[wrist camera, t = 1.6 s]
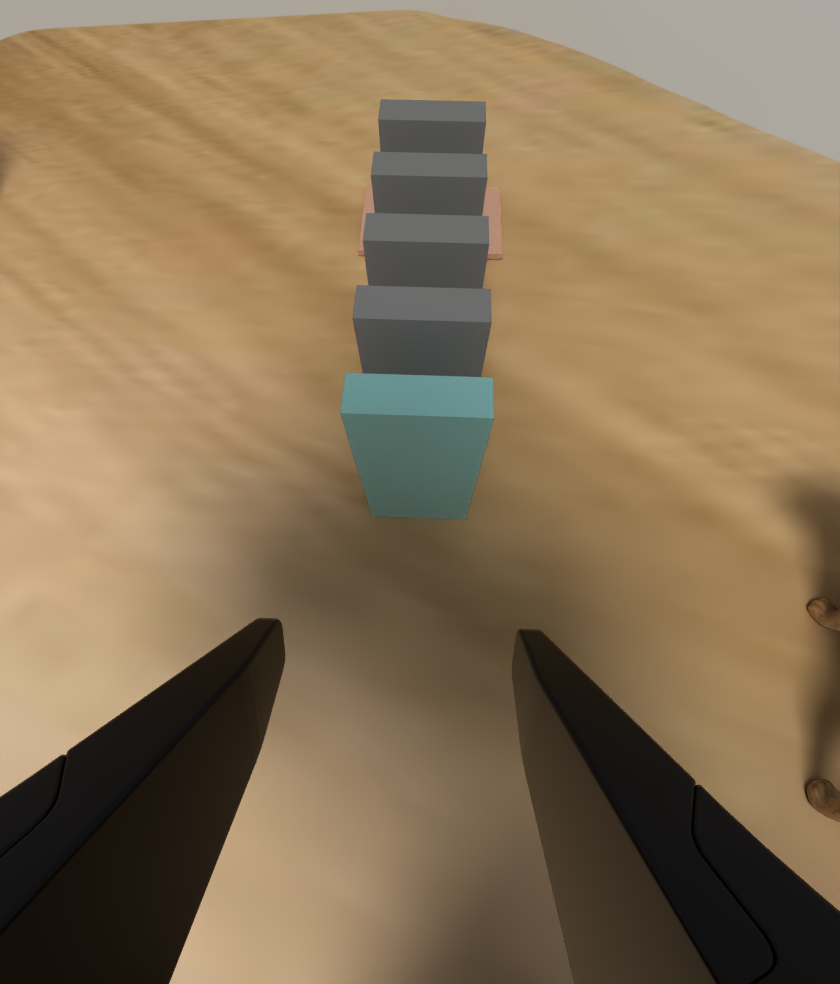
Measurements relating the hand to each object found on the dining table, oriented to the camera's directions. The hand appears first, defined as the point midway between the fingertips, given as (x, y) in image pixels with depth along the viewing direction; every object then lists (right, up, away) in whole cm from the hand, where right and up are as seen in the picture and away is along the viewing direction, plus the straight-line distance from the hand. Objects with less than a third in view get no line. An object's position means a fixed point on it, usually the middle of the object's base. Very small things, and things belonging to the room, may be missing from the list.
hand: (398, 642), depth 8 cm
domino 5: (0, +2, +16) cm, 16 cm away
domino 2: (+1, +13, +20) cm, 24 cm away
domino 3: (+1, +10, +19) cm, 21 cm away
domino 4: (+1, +6, +17) cm, 18 cm away
